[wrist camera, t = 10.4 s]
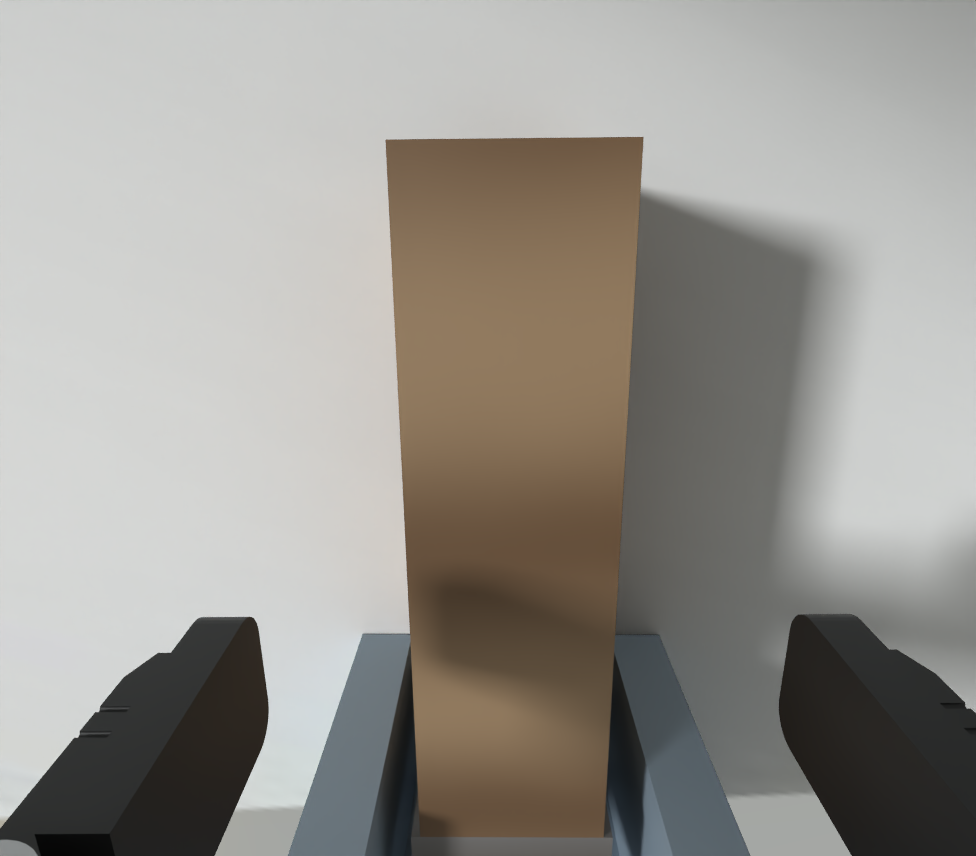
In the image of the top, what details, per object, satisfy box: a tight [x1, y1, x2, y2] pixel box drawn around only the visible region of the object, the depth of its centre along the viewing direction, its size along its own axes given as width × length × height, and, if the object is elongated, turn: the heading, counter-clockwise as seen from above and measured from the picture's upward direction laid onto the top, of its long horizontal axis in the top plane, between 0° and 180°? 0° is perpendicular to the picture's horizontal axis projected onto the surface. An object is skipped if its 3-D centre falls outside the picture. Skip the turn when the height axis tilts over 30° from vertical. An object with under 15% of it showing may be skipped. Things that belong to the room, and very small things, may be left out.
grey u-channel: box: [288, 634, 750, 856], centre depth 17 cm, size 7×9×8 cm
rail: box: [386, 137, 643, 856], centre depth 15 cm, size 16×4×6 cm, turn 0°
